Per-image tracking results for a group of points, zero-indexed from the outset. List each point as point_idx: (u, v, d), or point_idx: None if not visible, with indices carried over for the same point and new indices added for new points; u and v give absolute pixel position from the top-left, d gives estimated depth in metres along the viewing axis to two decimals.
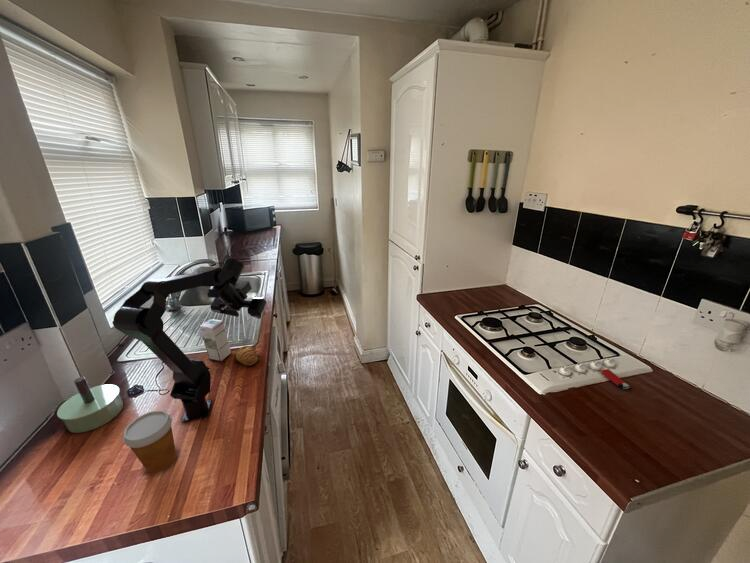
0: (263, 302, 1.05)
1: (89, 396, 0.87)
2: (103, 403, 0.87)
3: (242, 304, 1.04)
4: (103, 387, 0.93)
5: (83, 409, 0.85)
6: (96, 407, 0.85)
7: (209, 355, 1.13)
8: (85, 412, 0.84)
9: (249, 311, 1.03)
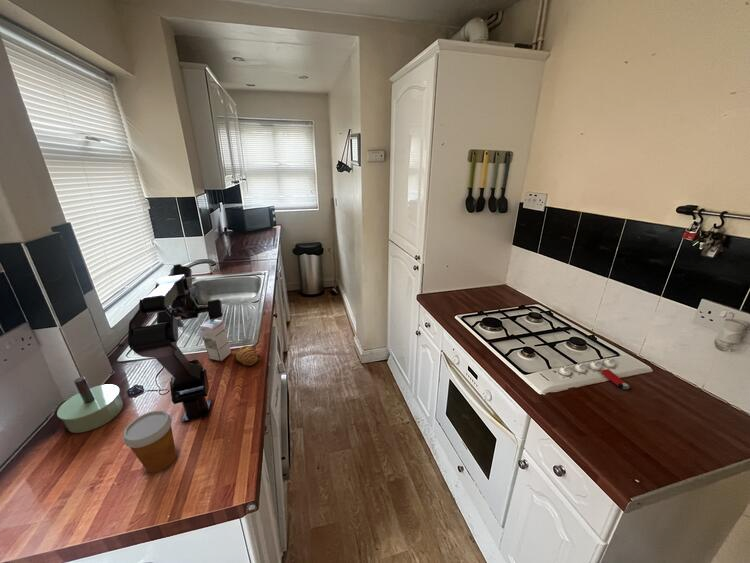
0: (221, 303, 1.05)
1: (89, 396, 0.87)
2: (103, 403, 0.87)
3: (199, 310, 1.01)
4: (103, 387, 0.93)
5: (83, 409, 0.85)
6: (96, 407, 0.85)
7: (209, 355, 1.13)
8: (85, 412, 0.84)
9: (210, 314, 1.02)
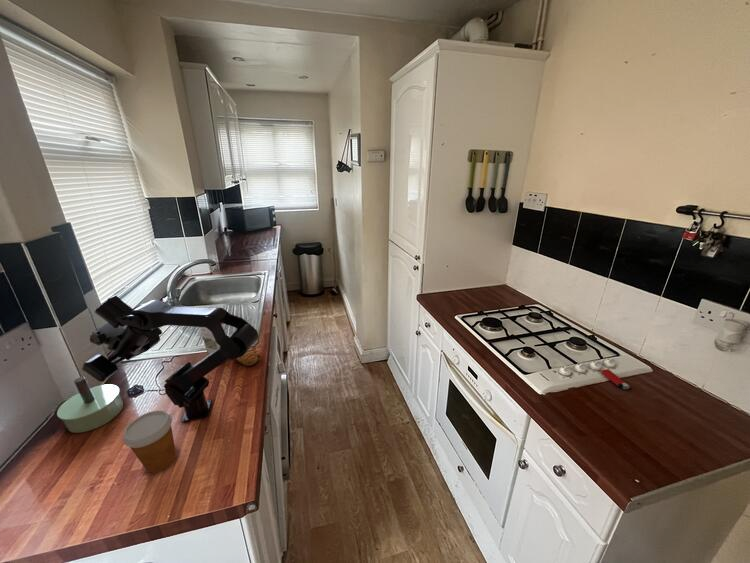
0: None
1: (89, 396, 0.87)
2: (103, 403, 0.87)
3: None
4: (103, 387, 0.93)
5: (83, 409, 0.85)
6: (96, 407, 0.85)
7: None
8: (85, 412, 0.84)
9: (152, 343, 0.91)
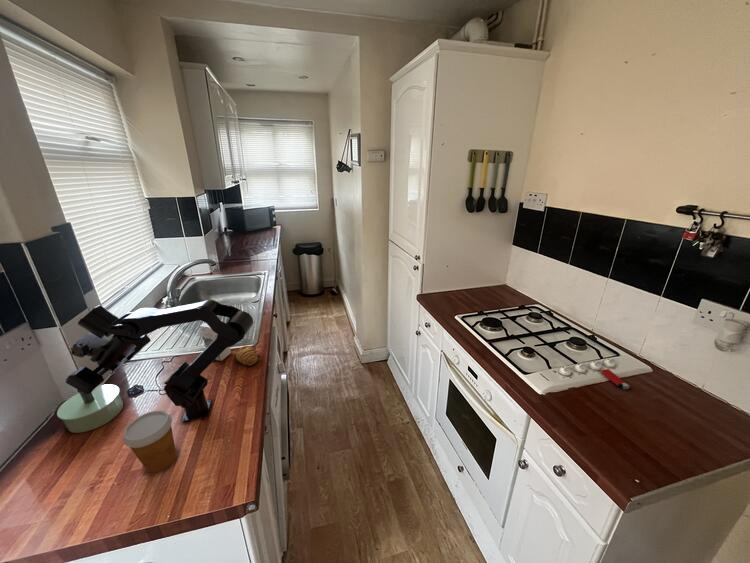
0: None
1: (89, 396, 0.87)
2: (103, 403, 0.87)
3: None
4: (103, 387, 0.93)
5: (83, 409, 0.85)
6: (96, 407, 0.85)
7: None
8: (85, 412, 0.84)
9: (135, 352, 0.89)
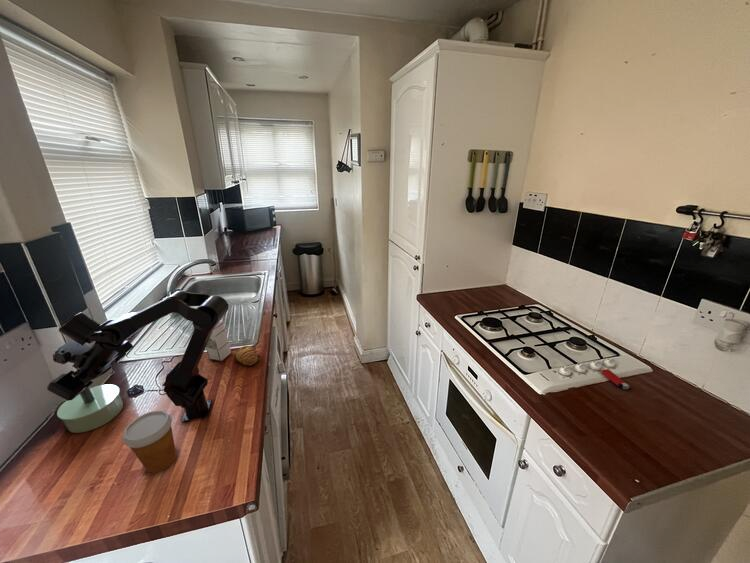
0: None
1: (89, 396, 0.87)
2: (103, 403, 0.87)
3: None
4: (103, 387, 0.93)
5: (82, 409, 0.85)
6: (96, 407, 0.85)
7: (209, 355, 1.13)
8: (85, 412, 0.84)
9: (119, 358, 0.90)
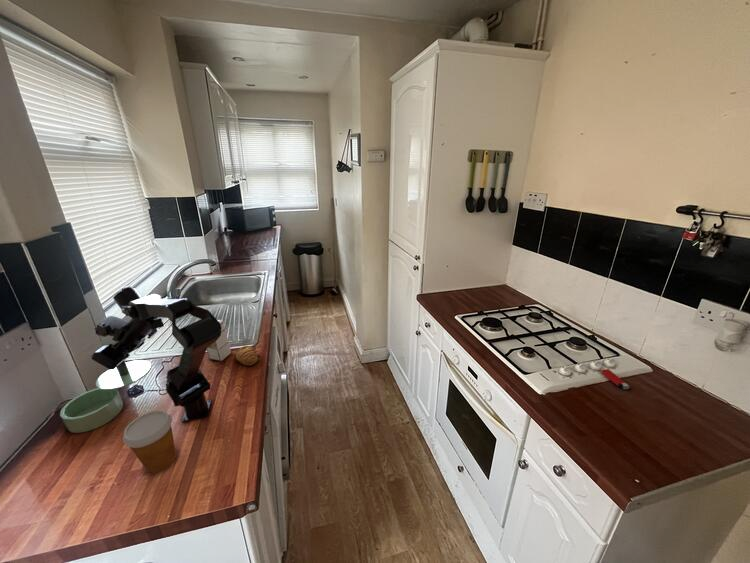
0: None
1: (125, 369, 0.93)
2: (137, 376, 0.93)
3: None
4: (135, 363, 0.99)
5: (119, 380, 0.91)
6: (132, 379, 0.92)
7: (209, 355, 1.13)
8: (122, 383, 0.90)
9: (151, 334, 0.96)
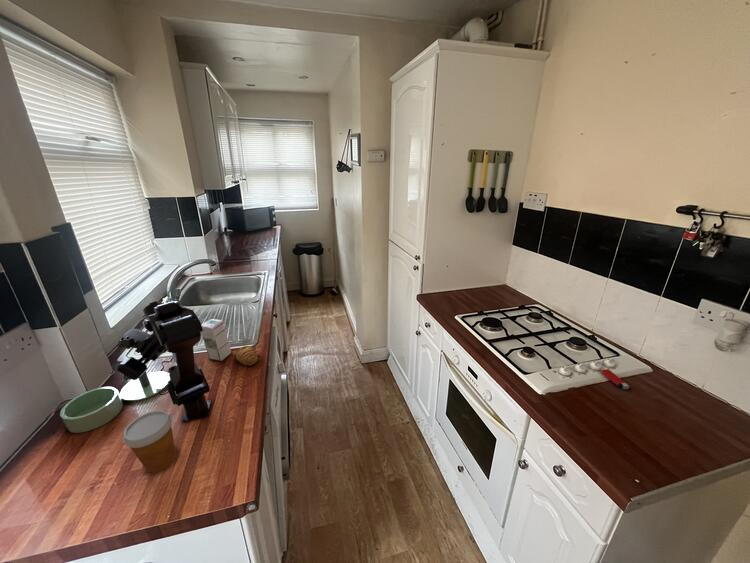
0: None
1: (146, 381, 0.99)
2: (158, 387, 0.99)
3: None
4: (155, 374, 1.05)
5: (142, 391, 0.97)
6: (153, 390, 0.97)
7: (209, 355, 1.13)
8: (145, 394, 0.96)
9: None
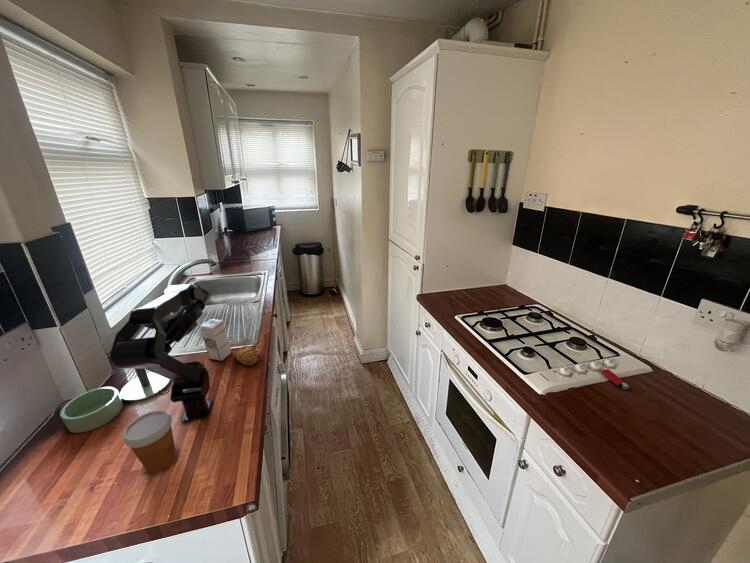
0: None
1: (146, 381, 0.99)
2: (158, 387, 0.99)
3: None
4: (155, 374, 1.05)
5: (142, 391, 0.97)
6: (153, 390, 0.97)
7: (209, 355, 1.13)
8: (145, 394, 0.96)
9: (192, 327, 0.99)
